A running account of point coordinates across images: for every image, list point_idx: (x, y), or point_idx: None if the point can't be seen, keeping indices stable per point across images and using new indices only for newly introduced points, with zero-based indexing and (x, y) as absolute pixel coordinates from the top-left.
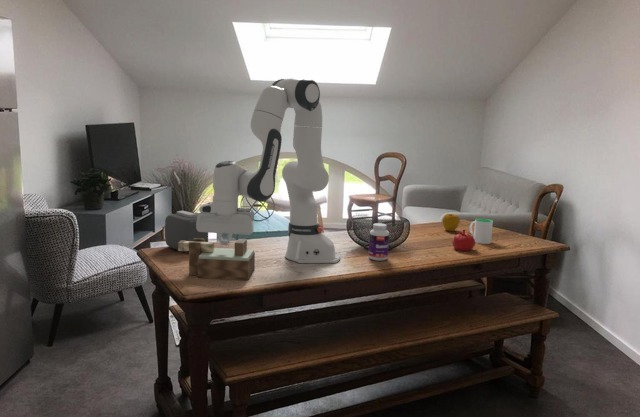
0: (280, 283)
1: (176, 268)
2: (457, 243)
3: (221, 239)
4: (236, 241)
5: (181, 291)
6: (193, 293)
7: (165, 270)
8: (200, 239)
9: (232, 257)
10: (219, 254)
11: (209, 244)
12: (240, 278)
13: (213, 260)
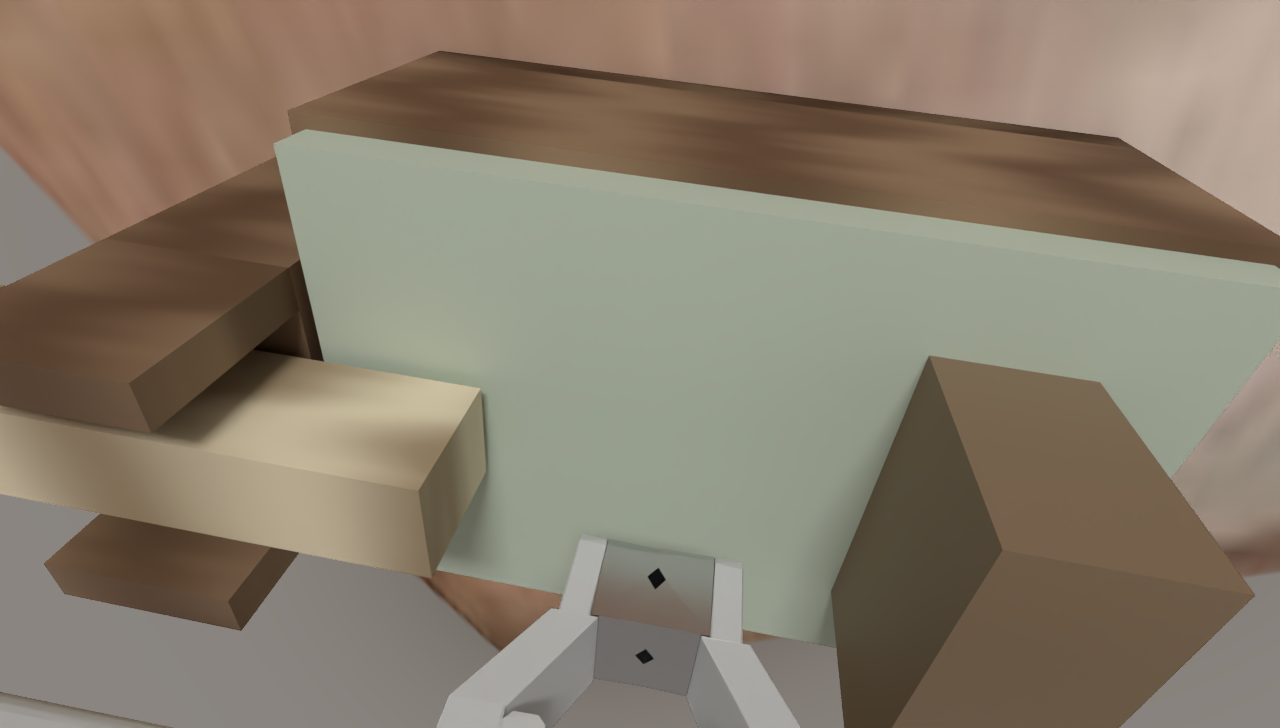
0: (1263, 558)
1: (111, 90)
2: None
3: (574, 701)
4: (903, 715)
5: (461, 610)
6: None
7: (61, 171)
8: (84, 416)
9: (800, 639)
10: (609, 530)
11: (384, 559)
12: None
13: None
